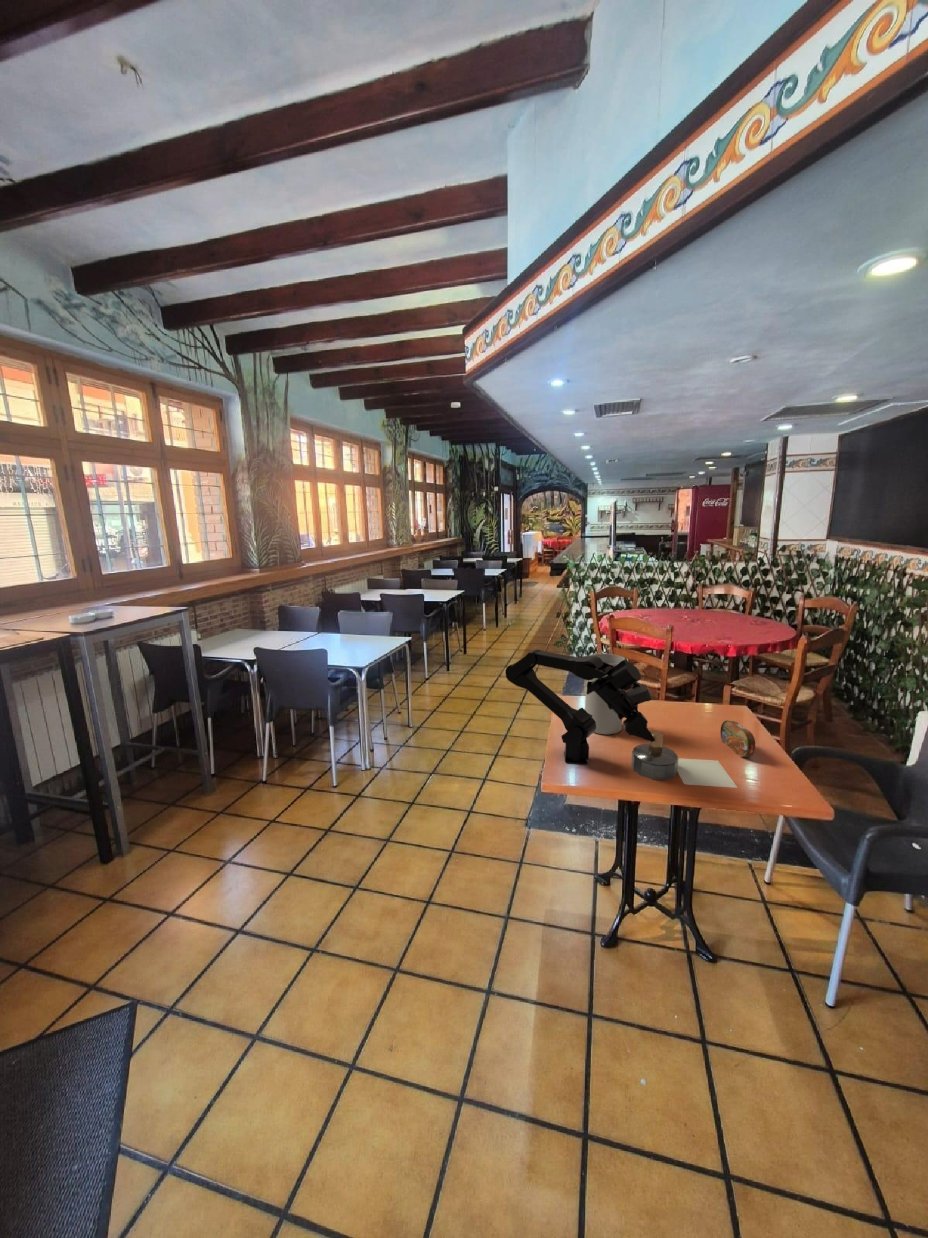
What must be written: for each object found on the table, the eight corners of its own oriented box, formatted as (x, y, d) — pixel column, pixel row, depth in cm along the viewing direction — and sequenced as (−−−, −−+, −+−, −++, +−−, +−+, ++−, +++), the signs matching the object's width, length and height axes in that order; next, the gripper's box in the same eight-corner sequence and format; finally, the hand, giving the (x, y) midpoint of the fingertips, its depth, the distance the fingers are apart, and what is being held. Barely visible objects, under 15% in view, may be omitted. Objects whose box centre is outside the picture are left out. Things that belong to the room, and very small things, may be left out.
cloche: (636, 779, 137) (638, 742, 135) (628, 758, 149) (630, 724, 146) (681, 782, 135) (684, 745, 133) (670, 761, 147) (673, 726, 145)
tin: (718, 740, 161) (721, 716, 159) (728, 740, 161) (730, 715, 159) (744, 762, 146) (748, 736, 144) (755, 762, 146) (758, 736, 144)
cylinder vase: (617, 721, 176) (621, 653, 171) (625, 736, 164) (629, 664, 159) (582, 719, 177) (585, 653, 172) (587, 734, 165) (590, 663, 160)
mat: (684, 785, 134) (684, 784, 134) (669, 759, 148) (670, 757, 148) (737, 789, 132) (737, 787, 132) (717, 762, 146) (717, 760, 146)
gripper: (641, 688, 128) (682, 730, 129) (628, 667, 146) (663, 703, 147) (608, 715, 131) (648, 755, 132) (599, 690, 149) (634, 726, 150)
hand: (649, 733), depth 140 cm, fingers open, 9 cm apart
